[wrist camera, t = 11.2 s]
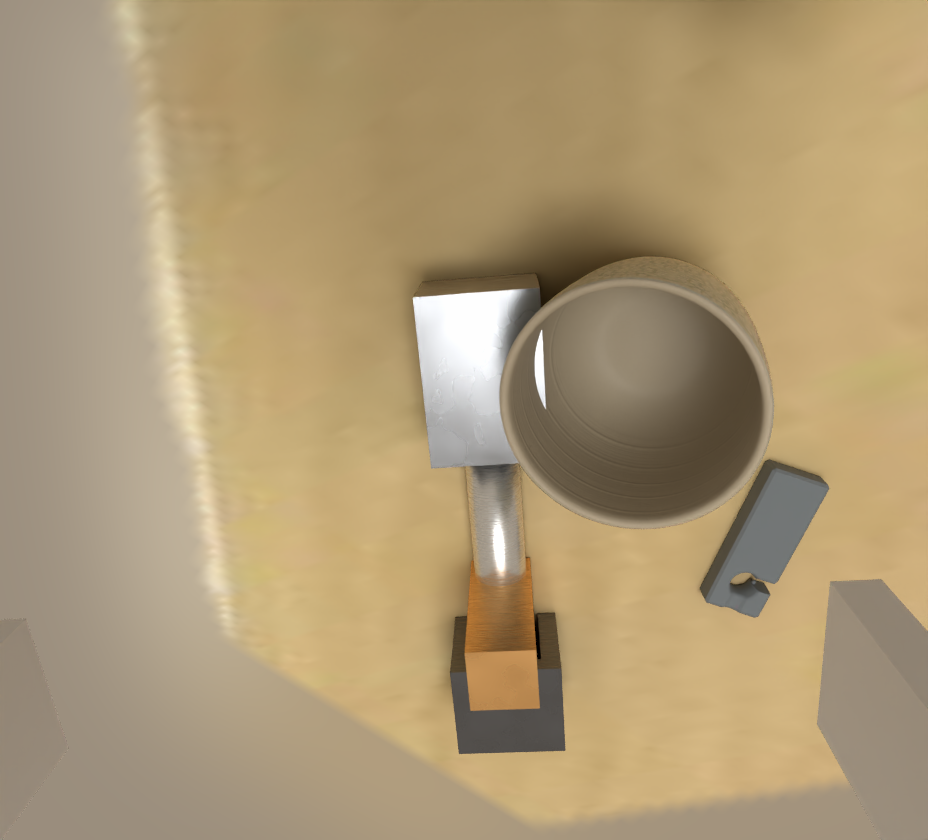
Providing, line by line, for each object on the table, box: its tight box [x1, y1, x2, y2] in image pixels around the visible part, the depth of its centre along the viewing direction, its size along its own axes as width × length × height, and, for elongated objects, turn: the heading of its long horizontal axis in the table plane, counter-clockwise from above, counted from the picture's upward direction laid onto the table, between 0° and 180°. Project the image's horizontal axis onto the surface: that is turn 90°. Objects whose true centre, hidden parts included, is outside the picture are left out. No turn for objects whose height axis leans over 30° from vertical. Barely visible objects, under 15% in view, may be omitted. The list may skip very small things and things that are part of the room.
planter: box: [499, 256, 774, 529], centre depth 39 cm, size 12×12×11 cm
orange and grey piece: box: [465, 463, 540, 711], centre depth 46 cm, size 19×4×10 cm, turn 5°
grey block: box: [413, 273, 546, 468], centre depth 44 cm, size 10×7×5 cm
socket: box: [450, 613, 565, 754], centre depth 51 cm, size 6×7×6 cm
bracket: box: [700, 460, 829, 618], centre depth 49 cm, size 4×10×2 cm, turn 162°
